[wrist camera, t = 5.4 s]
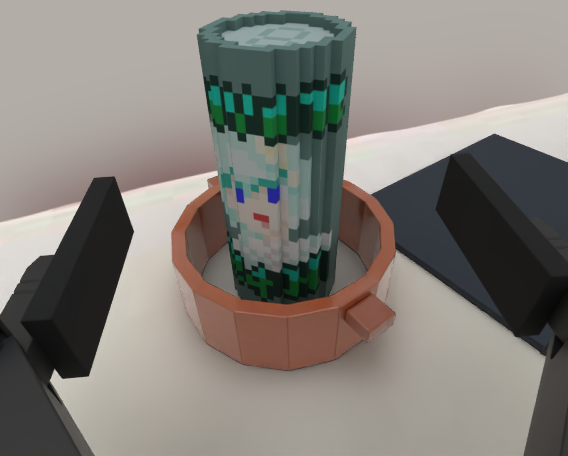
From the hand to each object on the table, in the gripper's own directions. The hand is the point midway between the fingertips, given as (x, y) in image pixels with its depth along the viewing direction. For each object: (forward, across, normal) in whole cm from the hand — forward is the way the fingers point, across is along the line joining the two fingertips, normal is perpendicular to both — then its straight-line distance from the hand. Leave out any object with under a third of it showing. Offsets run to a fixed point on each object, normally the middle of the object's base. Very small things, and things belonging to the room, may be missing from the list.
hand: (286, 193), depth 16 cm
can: (+4, 0, -10) cm, 11 cm away
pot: (+4, 0, -10) cm, 11 cm away
